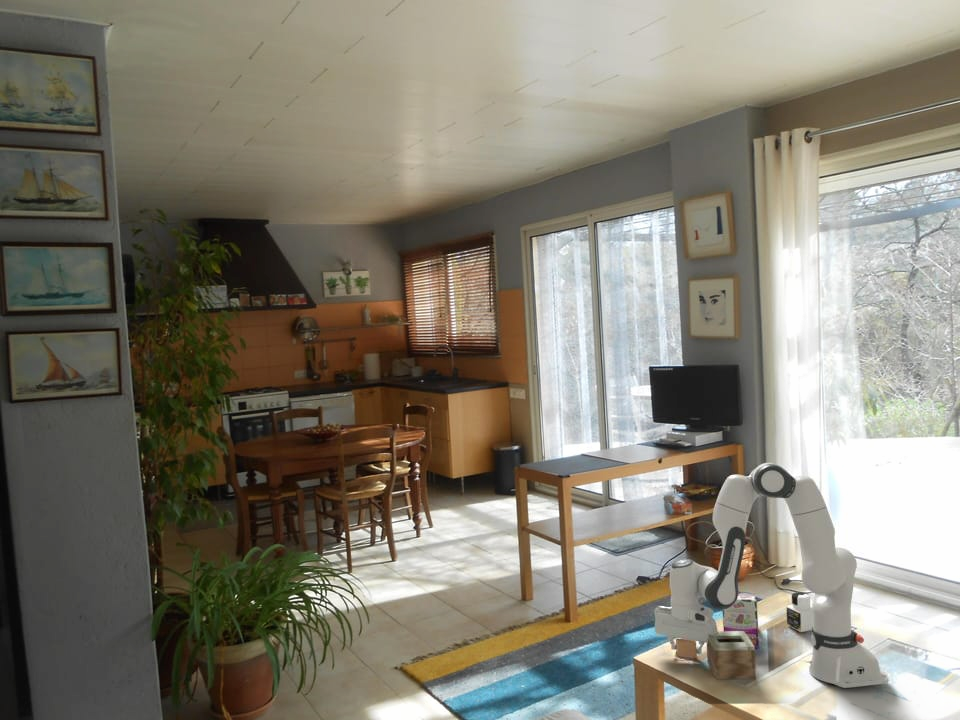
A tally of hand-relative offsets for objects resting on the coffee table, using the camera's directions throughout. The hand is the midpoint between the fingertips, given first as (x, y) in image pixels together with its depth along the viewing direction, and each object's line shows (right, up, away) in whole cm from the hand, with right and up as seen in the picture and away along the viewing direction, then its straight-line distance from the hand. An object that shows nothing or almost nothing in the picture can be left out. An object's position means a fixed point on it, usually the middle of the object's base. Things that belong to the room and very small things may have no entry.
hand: (686, 651), depth 245 cm
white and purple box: (+27, 0, +19) cm, 33 cm away
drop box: (+11, -2, -10) cm, 15 cm away
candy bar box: (+21, -1, +8) cm, 23 cm away
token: (0, -2, 0) cm, 2 cm away
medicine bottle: (+47, +1, +20) cm, 50 cm away
